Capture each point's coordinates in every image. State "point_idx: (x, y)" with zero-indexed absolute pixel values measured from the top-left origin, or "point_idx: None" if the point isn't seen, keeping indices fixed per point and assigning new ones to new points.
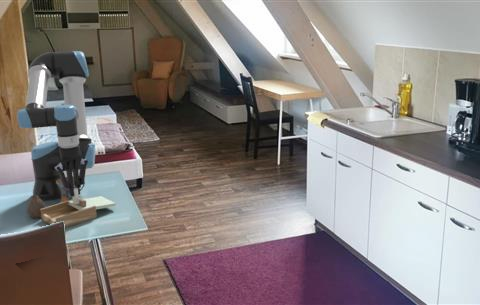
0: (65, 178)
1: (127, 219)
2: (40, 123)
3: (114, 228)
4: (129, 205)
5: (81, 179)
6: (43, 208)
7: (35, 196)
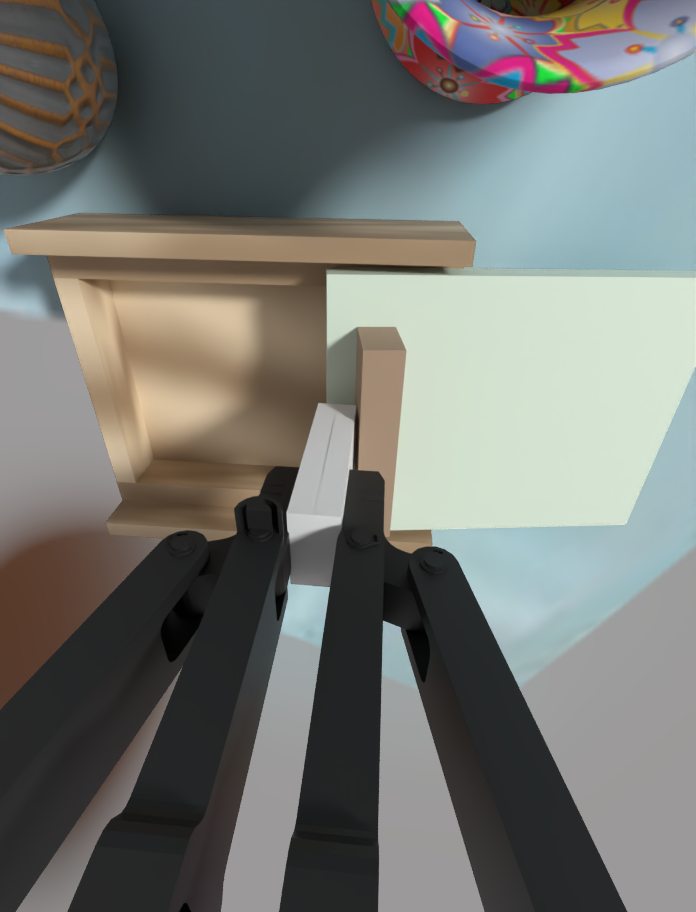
0: (110, 754)
1: (515, 627)
2: None
3: (395, 648)
4: None
5: (417, 678)
6: (38, 244)
7: None
